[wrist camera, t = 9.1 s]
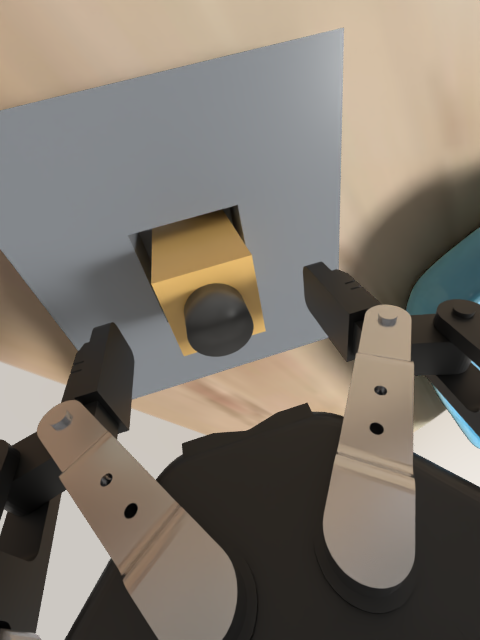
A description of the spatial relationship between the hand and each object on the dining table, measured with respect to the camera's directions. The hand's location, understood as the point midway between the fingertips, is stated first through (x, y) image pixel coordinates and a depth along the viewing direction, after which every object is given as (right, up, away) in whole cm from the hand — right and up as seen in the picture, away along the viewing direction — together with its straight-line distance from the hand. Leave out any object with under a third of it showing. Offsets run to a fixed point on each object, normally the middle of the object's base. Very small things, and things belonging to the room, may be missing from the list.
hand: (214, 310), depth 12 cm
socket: (-2, +5, +6) cm, 8 cm away
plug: (-2, +4, +6) cm, 7 cm away
